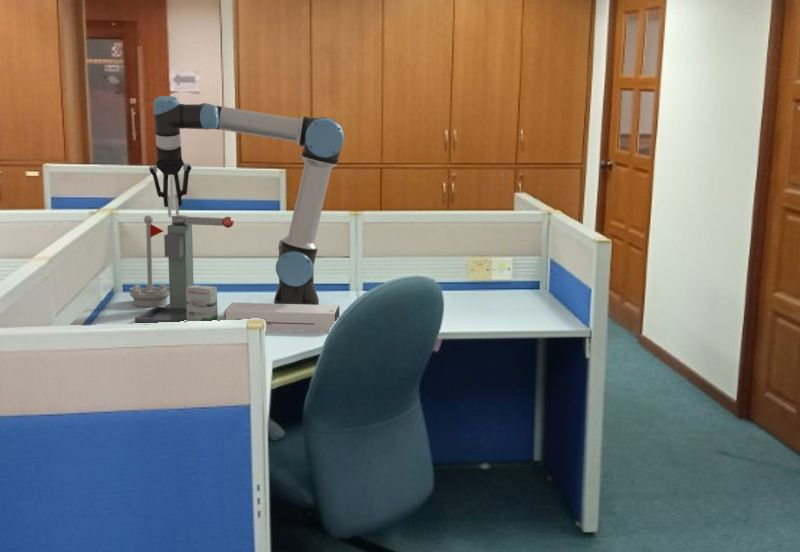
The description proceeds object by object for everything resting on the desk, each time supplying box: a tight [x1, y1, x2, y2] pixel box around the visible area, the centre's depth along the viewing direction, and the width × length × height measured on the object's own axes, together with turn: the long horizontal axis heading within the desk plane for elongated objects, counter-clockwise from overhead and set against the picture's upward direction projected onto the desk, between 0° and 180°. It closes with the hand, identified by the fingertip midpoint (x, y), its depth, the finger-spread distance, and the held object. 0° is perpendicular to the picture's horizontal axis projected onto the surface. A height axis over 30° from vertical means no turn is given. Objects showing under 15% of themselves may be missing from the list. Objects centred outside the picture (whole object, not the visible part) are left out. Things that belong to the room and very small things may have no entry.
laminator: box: [224, 301, 340, 332], centre depth 288 cm, size 34×12×6 cm, turn 88°
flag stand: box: [129, 214, 170, 308], centre depth 311 cm, size 13×13×30 cm
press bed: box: [134, 306, 187, 324], centre depth 293 cm, size 14×16×2 cm
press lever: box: [171, 214, 235, 229], centre depth 301 cm, size 21×5×4 cm, turn 81°
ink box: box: [186, 284, 219, 322], centre depth 287 cm, size 9×5×12 cm, turn 71°
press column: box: [163, 223, 195, 308], centre depth 304 cm, size 9×11×28 cm
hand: (173, 215), depth 300 cm, fingers open, 2 cm apart
